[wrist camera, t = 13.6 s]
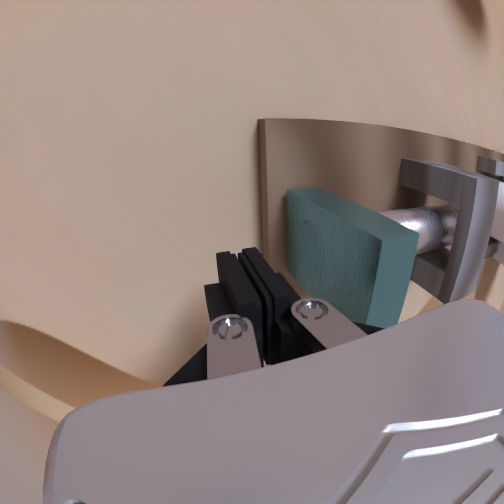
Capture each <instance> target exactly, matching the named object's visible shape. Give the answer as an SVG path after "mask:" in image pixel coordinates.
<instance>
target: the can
mask: <svg viewBox="0 0 504 504" xmlns="http://www.w3.org/2000/svg"><path fill="white" fill-rule="evenodd" d="M490 236H491V237H493V238H495V239H497V240H499V241H501V242H503V243H504V183H503V182H501V181H499V189H498V196H497V202H496V208H495V214H494V219H493V224H492V229H491V233H490Z"/></svg>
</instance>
